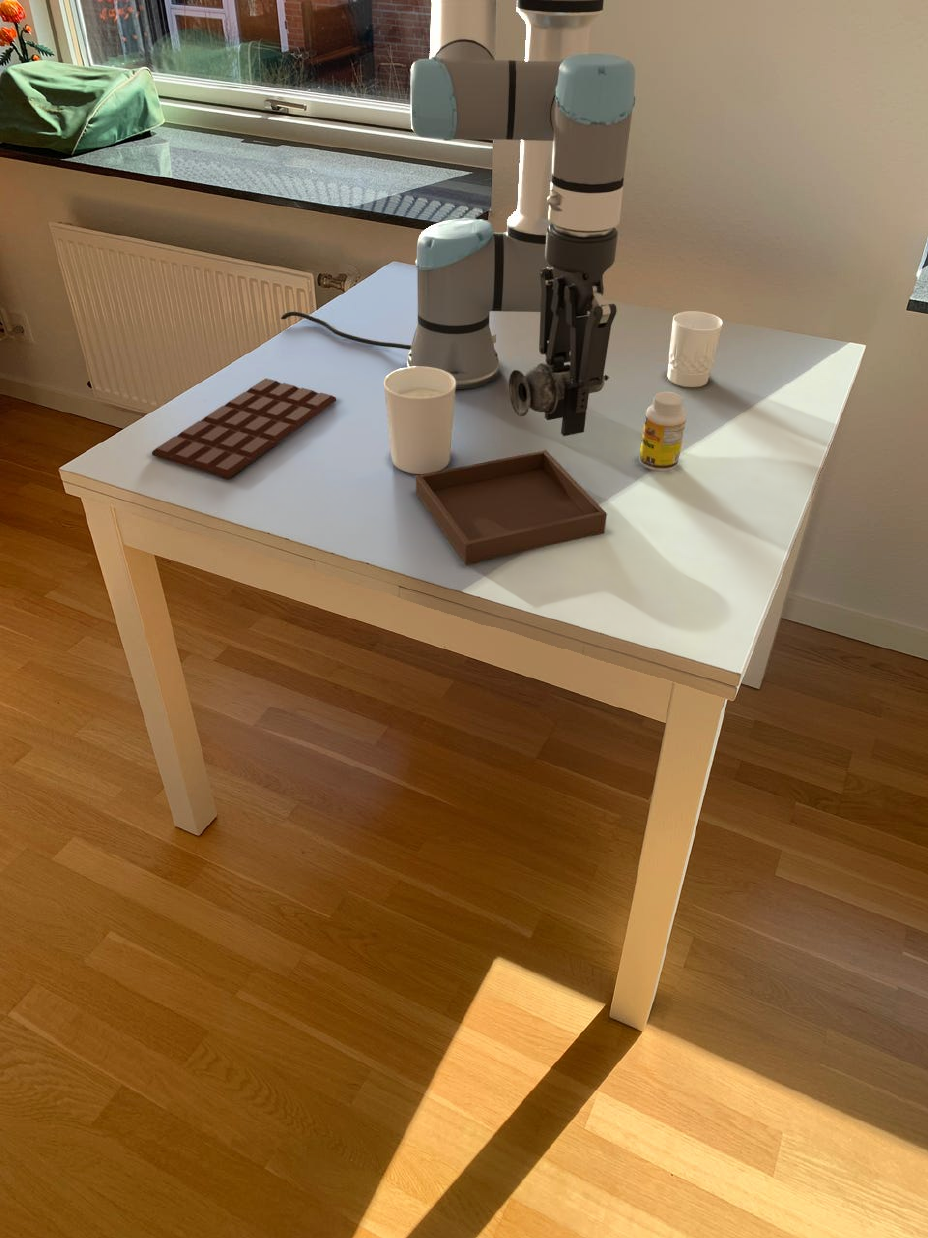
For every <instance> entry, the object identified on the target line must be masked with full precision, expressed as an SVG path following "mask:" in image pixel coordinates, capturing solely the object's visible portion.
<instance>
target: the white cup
mask: <svg viewBox="0 0 928 1238" xmlns="http://www.w3.org/2000/svg"><path fill="white" fill-rule="evenodd" d="M723 326H724V321H723V319H722V318H721V317H719V316H717V315H715V314H713V313H710V312H704V311H700V310H699V311H698V310H697V311H696V310H687V311H681V312H678V313H676V314H675V315H673V316H672V325H671V332H670V333H671V334H670V339H669V340H670V341H669V352H668V366H667V373H666V376H667V379H668V381H669V382H671V383H672V384H674V385H677V386H680V387H684V388H699V387H703V386H705V385H707V384H708V382H709V379H710V375H711V372H712V368H713V367H714V362H715V358H716V353H717V351H718V346H719V342H720V339H721V334H722V329H723Z"/></svg>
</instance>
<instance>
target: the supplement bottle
mask: <svg viewBox="0 0 928 1238" xmlns="http://www.w3.org/2000/svg"><path fill="white" fill-rule="evenodd" d="M683 405H684V398H683V396H682V395H680V394H679V393H676V392H672V391H660V392H657V393H655V395H654V396H653V401H652V404H651V405H650V406H649V407H647V409H646V411H645V417H644V423H643V430H642V436H641V444H640V449H639V455H638V456H639V457H638V458H639V459H638V460H639V462H640V464H641V465H642V466H643V467H644V468H646V469H648V470H651V471H653V472H667V471H671V470H673V469H675V468H676V467H677V465H678V463H679V459H680V454H681V449H682V444H683V439H684V433H685V429H686V427H685V426H686V422H687V413H686V411H685V410H684V409H683Z"/></svg>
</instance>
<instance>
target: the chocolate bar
mask: <svg viewBox="0 0 928 1238" xmlns="http://www.w3.org/2000/svg"><path fill="white" fill-rule="evenodd" d="M336 402H337V397H335V396H333V395H331V394H328V393H325V392H324V393H323V392H317V391H314V390H312V389H308V388H304V387H301V388H300V387H297V386H296V385H293V384H289V383H285V382H283V383H281V382H279V381H277V380H273V379H270V378H263V379H262V380H260V381H259V382H258V383H256V384H255V385H252V386H251V387H249V389H248V390H246V391H243V392H242V393H240V394H239V395H237V396H236V397H234V398H233V399H231V400H230V401H228V402H227V403H225V404H224V405H221V406H220V407H219V408H217V409H216V410H214V411H212V412H211V413H209V414H208V415H206V416H204V417H203V418H202V419H201V420H197V422H195V423H194V424H192V425H190V426H189V427H187V428H185V429H183V431H181V432H180V433H178V435H176V436H173V437H171V438H170V439H168V440H167V441H165V442H164V443H162V444H160V445H158V446H157V447H156V448H155V449H154V450H152V451H151V455H152V456H154V457H157V458H160V459H163V460H165V461H170V462H172V463H173V462H174V463H175V464H179V465H184V466H186V467H189V468H193V469H196V470H199V471H202V472H205V473H208V474H212V475H214V476H218V477H222V478H225V479H228V480H229V479H231V478H232V477H234V476H235V475H236V474H238V473H239V472H241V471H242V470H244V469H245V468H246V467H248V466H249V465H250V464H252V463H253V462H255V461H256V460H257V459H259V458H260V457H261V456H263V455H264V454H265V453H267V452H268V451H270V450H271V449H272V448H274V447H275V446H276V445H278V444H279V443H280V442H282V441H283V440H284V439H286V438H287V437H288V436H290V435H291V434H293V433H294V432H295V431H297V430H299V428H301V427H302V426H304V425H305V424H306V423H308V422H309V421H311V420H312V419H314V418H315V417H316V416H318V415H319V414H320V413H322V412H324V410H326V409H327V408H329V407H330V406H331V405H333V404H334V403H336Z"/></svg>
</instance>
